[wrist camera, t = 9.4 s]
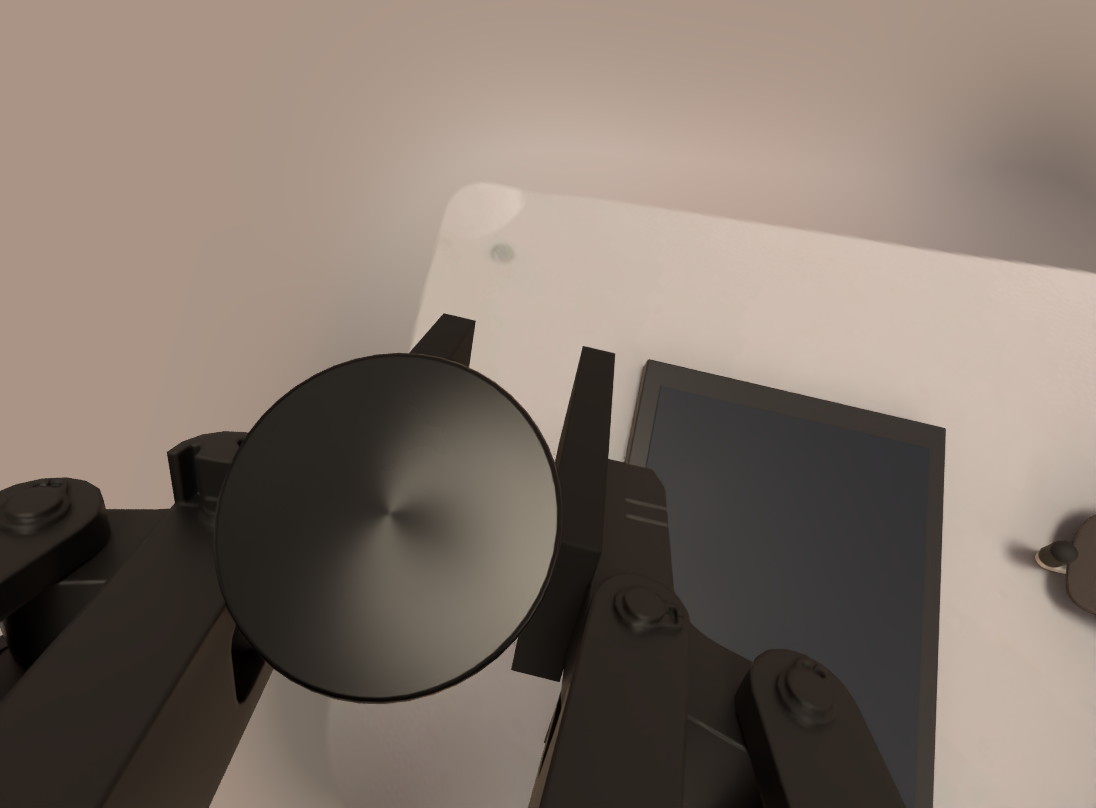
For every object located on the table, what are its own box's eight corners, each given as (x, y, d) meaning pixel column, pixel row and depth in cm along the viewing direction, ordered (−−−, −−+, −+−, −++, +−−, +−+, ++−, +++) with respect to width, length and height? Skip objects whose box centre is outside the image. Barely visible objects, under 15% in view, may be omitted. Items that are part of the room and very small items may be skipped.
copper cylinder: (425, 588, 15) (149, 655, 4) (452, 495, 16) (283, 319, 5) (519, 611, 15) (518, 746, 4) (541, 516, 16) (595, 391, 5)
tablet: (550, 843, 22) (551, 857, 21) (643, 365, 27) (648, 357, 26) (911, 934, 22) (931, 953, 21) (931, 432, 27) (948, 427, 26)
